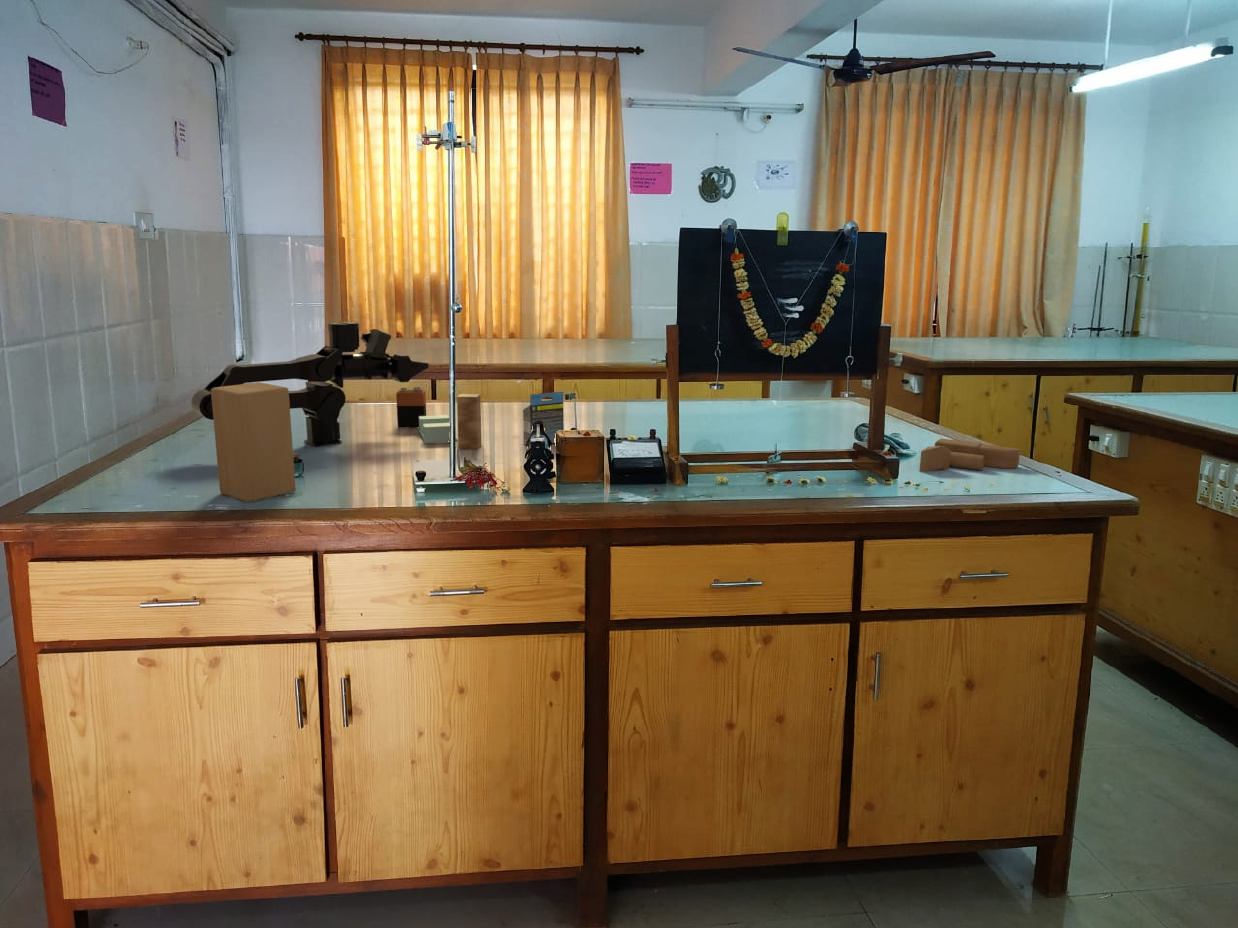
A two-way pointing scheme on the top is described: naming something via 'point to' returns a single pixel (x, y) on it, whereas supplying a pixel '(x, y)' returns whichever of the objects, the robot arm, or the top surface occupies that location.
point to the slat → (469, 421)
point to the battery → (410, 406)
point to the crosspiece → (434, 428)
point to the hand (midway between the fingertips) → (419, 363)
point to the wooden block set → (967, 456)
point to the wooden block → (253, 440)
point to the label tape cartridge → (544, 414)
